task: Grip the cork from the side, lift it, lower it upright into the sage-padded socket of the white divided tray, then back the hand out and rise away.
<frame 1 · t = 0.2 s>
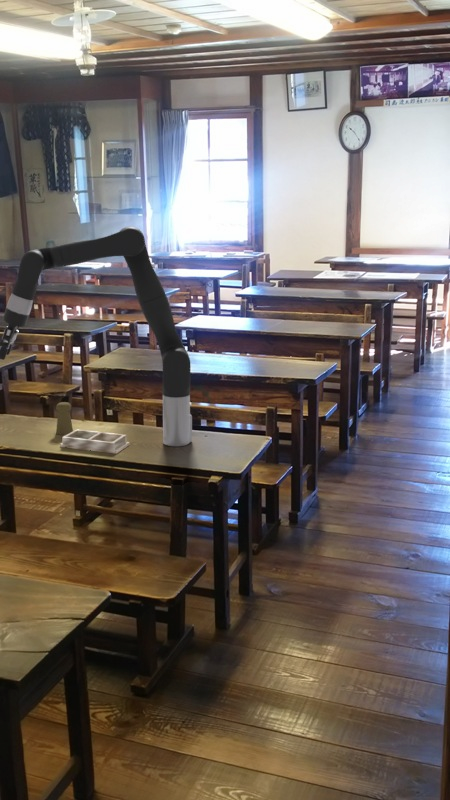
hand: (3, 356, 258), 31 cm above the table, tool tilted 20°, fingers open, 8 cm apart
cork: (64, 433, 282), on the table
white divided tray: (94, 445, 268), on the table
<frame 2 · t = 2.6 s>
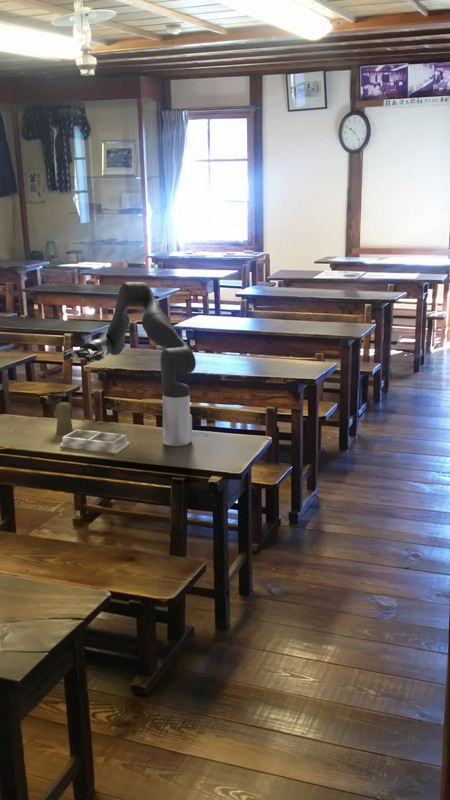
hand: (75, 358, 286), 25 cm above the table, tool horizontal, fingers open, 8 cm apart
nothing on the table moved.
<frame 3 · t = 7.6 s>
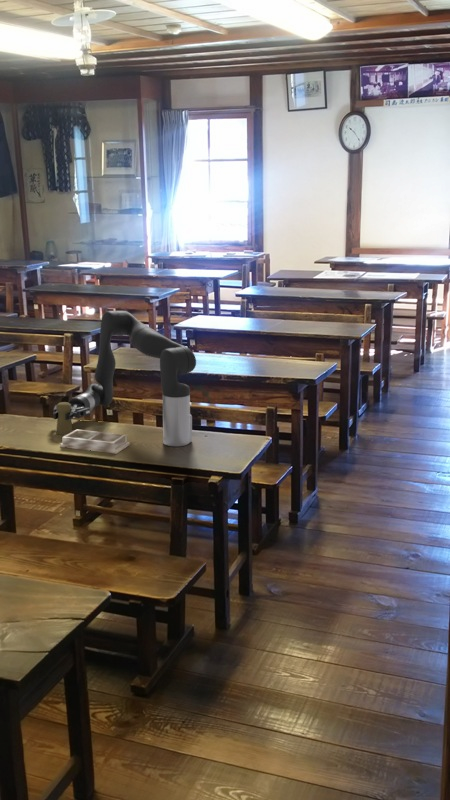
hand: (60, 416, 278), 7 cm above the table, tool horizontal, fingers closed on cork, 4 cm apart
cork: (64, 432, 282), on the table, touching gripper
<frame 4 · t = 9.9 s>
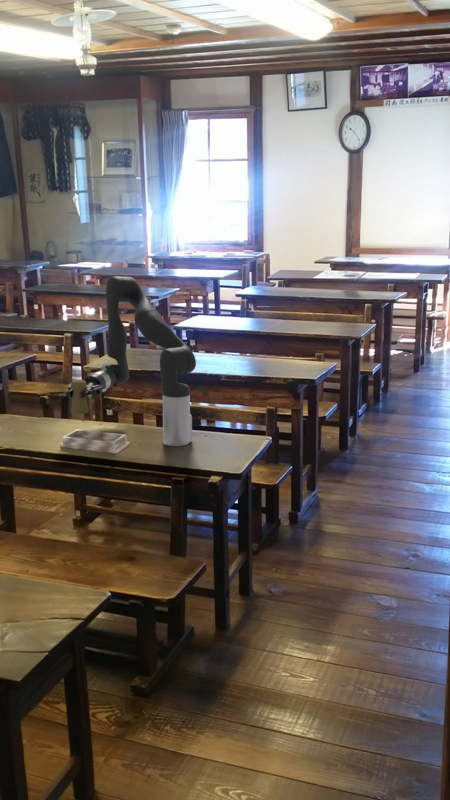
hand: (75, 395, 264), 18 cm above the table, tool horizontal, fingers closed on cork, 4 cm apart
cork: (79, 412, 268), point 11 cm above the table, touching gripper
when the fingers open (9 cm above the table, at t = 12.6 s): cork moves 1 cm, resting on white divided tray.
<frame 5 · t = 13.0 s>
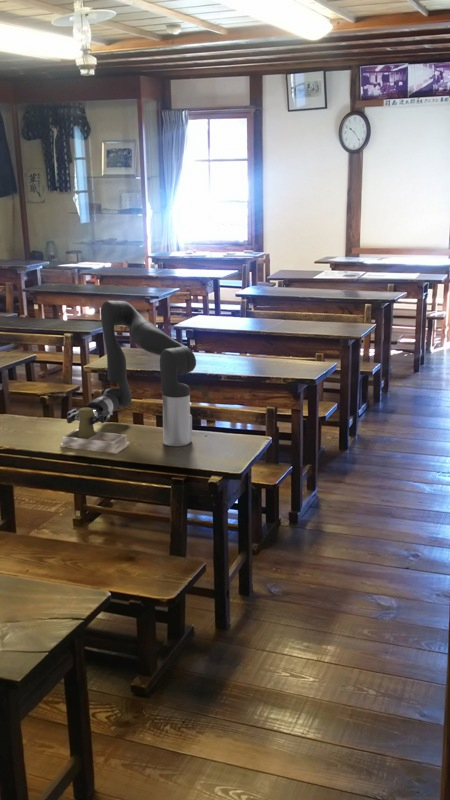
hand: (79, 421, 265), 9 cm above the table, tool horizontal, fingers open, 7 cm apart
cork: (86, 440, 269), point 2 cm above the table, touching gripper, white divided tray
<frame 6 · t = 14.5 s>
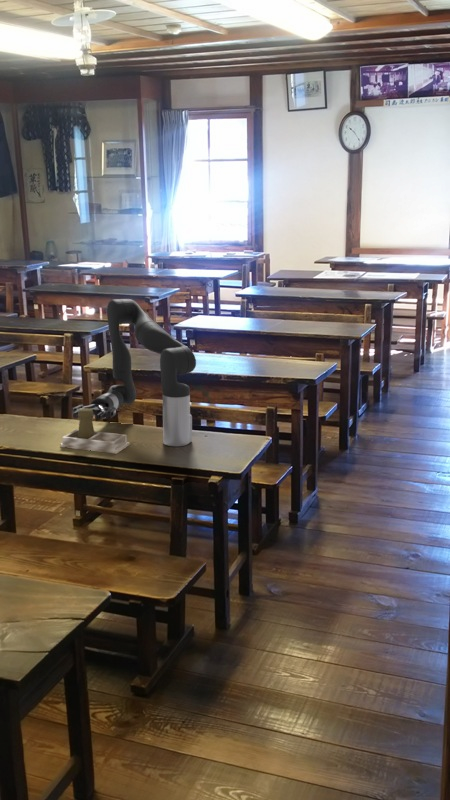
hand: (86, 416, 270), 9 cm above the table, tool horizontal, fingers open, 8 cm apart
cork: (86, 440, 269), point 1 cm above the table, touching white divided tray
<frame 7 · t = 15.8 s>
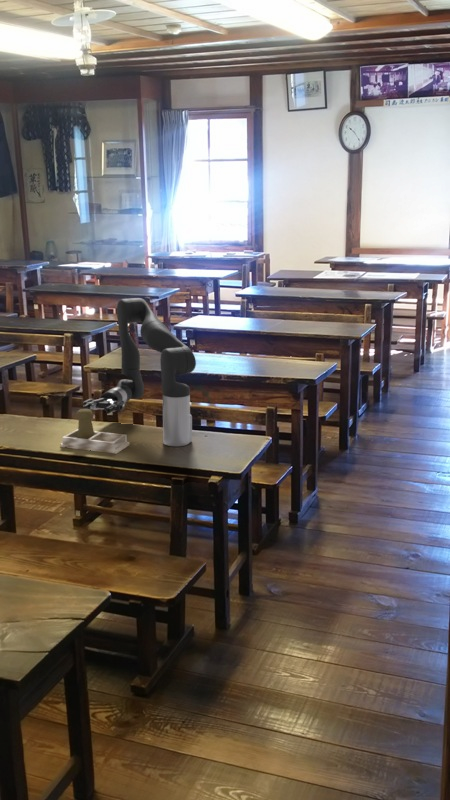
hand: (95, 410, 277), 9 cm above the table, tool horizontal, fingers open, 8 cm apart
nothing on the table moved.
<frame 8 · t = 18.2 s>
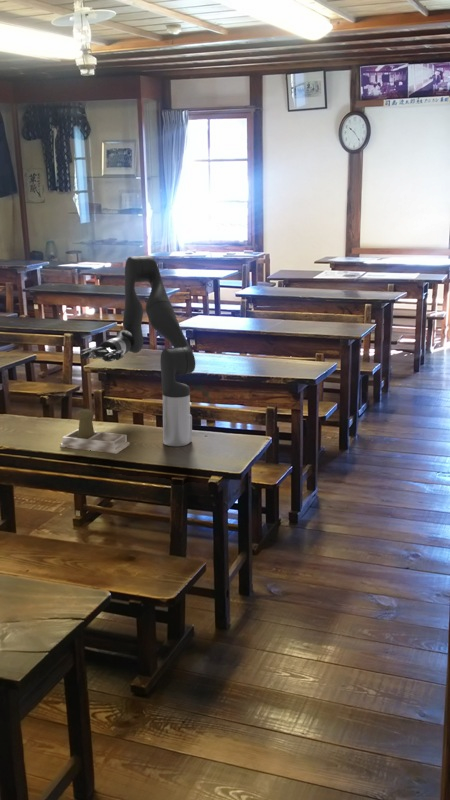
hand: (94, 357, 272), 28 cm above the table, tool horizontal, fingers open, 8 cm apart
nothing on the table moved.
at the end: cork 1.3 cm from the target spot on the white divided tray, point 1.0 cm above the white divided tray's base; cork tilted 0°; the gripper is holding nothing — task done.
